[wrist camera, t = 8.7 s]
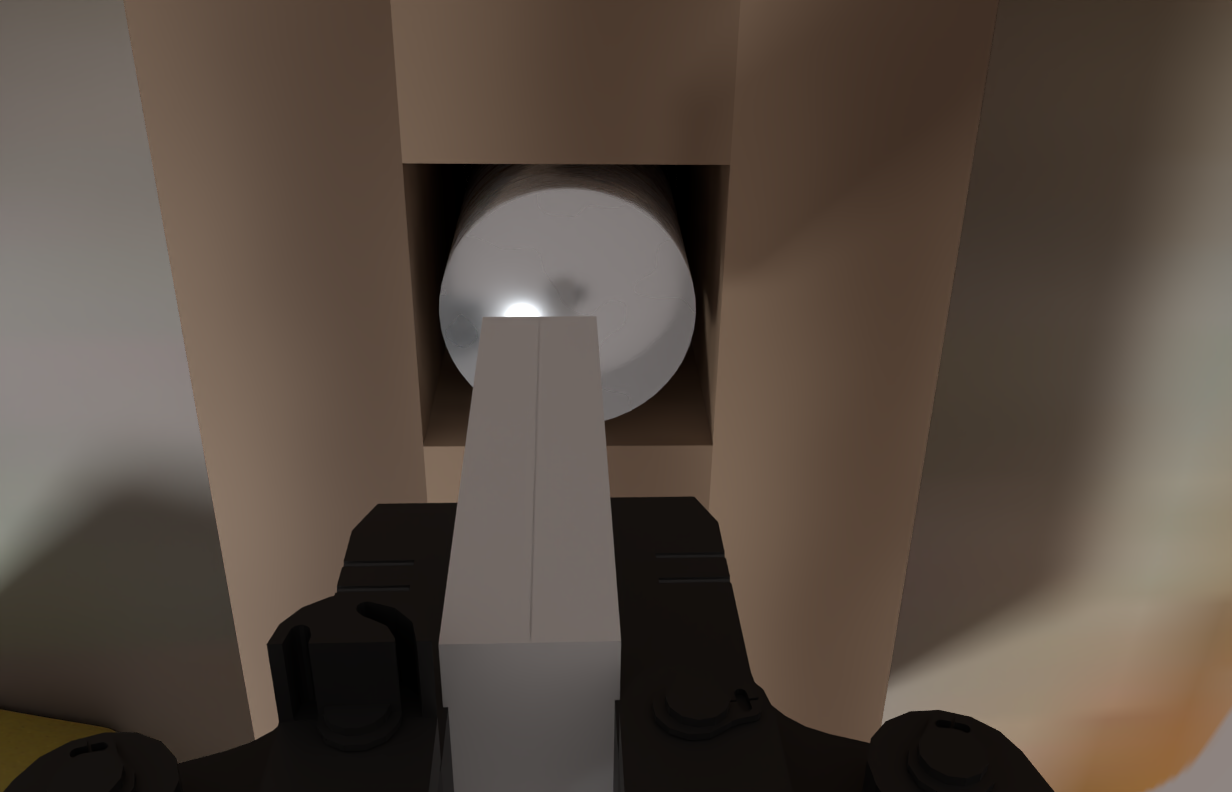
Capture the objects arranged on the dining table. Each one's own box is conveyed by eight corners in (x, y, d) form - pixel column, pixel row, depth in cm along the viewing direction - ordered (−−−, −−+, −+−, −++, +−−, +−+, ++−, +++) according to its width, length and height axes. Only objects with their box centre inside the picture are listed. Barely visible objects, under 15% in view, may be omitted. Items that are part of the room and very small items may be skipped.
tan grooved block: (368, 745, 34) (308, 1037, 27) (264, -151, 23) (104, -108, 15) (773, 740, 35) (832, 1026, 27) (866, -143, 24) (1014, -97, 16)
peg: (484, 233, 27) (445, 425, 19) (476, 57, 25) (430, 190, 17) (656, 233, 27) (690, 425, 19) (662, 58, 25) (702, 191, 17)
